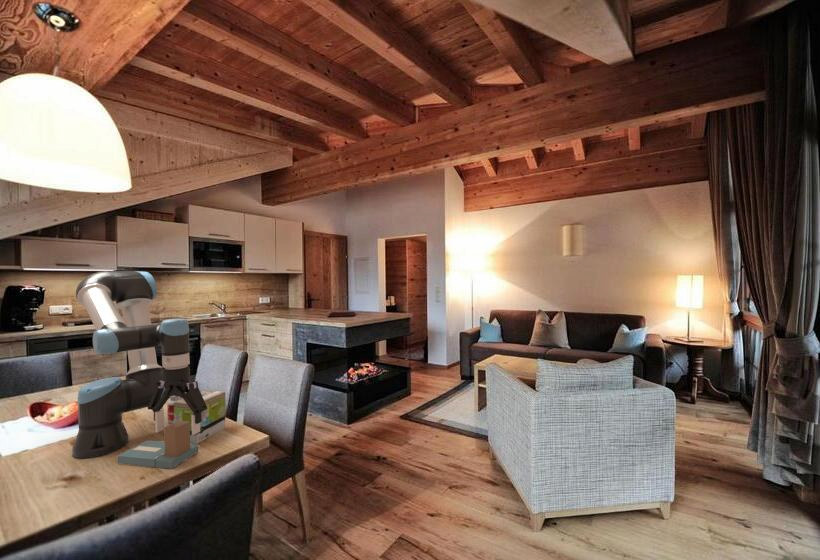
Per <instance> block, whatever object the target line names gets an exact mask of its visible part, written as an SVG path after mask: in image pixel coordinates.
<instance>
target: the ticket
mask: <svg viewBox="0 0 820 560" xmlns="http://www.w3.org/2000/svg"><path fill="white" fill-rule="evenodd" d="M164 454H165V441H158V440H149V439H148V440H145V441H143V442H142V443H140V444H138V445H136V446H134V447H132V448H130V449H128V450H126V451H125V452H122V453H120V454H118V455H117V459H116V460H117V461H116V462H117V464H119V465H120V464H121V465H126V466H127V465H129V466H138V467H145V468H146V467H147V468H157V467H156V465H155V460H156V459H157V458H159V457H161V456H163V455H164Z"/></svg>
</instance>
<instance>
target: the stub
mask: <svg viewBox="0 0 820 560" xmlns="http://www.w3.org/2000/svg"><path fill="white" fill-rule="evenodd" d="M163 431H164V435H163V436H164V442H165V454H164V455H163V456H161V457H159V458H157V459H156V460H155V465H156V467H155V468H160V469H161V468H162V469H170V470H171V469H174V468H176V467H177V466H179V465H180V464H182V463H183V462H184V461H186V460H188V459H190V458H191V457H193V456H194V455H196V454H197V453H199V450H200V449H199V448H200V447H199V444H196V445H195V444H190V421H178V422H176V423H171V424H170V425H168V426H166V427H165V426H164V430H163Z"/></svg>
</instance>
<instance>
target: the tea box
mask: <svg viewBox="0 0 820 560" xmlns="http://www.w3.org/2000/svg"><path fill="white" fill-rule="evenodd" d="M200 393H201V395H202V397H203V399H204V401H205V404H206V406H207V410H205V411H203V412H202V413H201V414H202V417H201V418H202V421H201V422H200V432H198V433H197V434H195V435H192V419H191V414H193V411H192V410H191V409H190V407H189V406H188V405H187V403H186V402H185V401H184V399H182V400H179V401H177V402H174V423H176V422H178V421H190V444H193V445H199V444H200V443H201V442H203V441H205V440H206V439H208V438H210V437H211V436H213V435H215V434H217V433H219V432H220V431H222V430H224V429H225V428H226V391H222V390H221V391H218V390H217V391H216V390H208V389H207V390H202V391H200ZM174 423H173V424H174Z"/></svg>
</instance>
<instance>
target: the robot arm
mask: <svg viewBox="0 0 820 560" xmlns="http://www.w3.org/2000/svg"><path fill="white" fill-rule="evenodd" d="M157 293H158V292H157V283H156V280H155V278H154V276H153V275H152V274H151V273H150V272H148V271H139V270H133V271H125V270H124V271H120V270H119V271H117V270H116V271H115V270H114V271H113V270H112V271H107V270H105V271H103V270H102V271H98V272H94V273H91V274H89V275H87V276H86V277H85V278H83V279H82V280H81V281H80V282H79V283H78V285H77V287H76V289H75V297H76V300H77V302H78V303H79V304H80V305H81V306H83V307H84V308H85V309H86V312H87V313H88V316H89V318H90V320H91V322H92V324H93V326H94V328H95V331H94V332H93V335H92V346H93V351H94V352H95V353H96V354H98V355H102V354H103V355H104V354H105V355H106V354H115V353H121V352H127V357H128V366H129V369H128V371H127V373H126V374H125V379H122V378H121V377H120V376H112V377H105V378H101V379H97V380H94V381H91V382H88V383H86V384H85V385H83V386H81V387H80V389H79V390H78V392H77V393H78V395H77V405H78V406H77V409H78V410H77V411H78V431H77V434H76V436H75V440H74V443H73V445H72V448H71V449H72V452H71V453H72V457H74V458H76V459H87V458H89V459H90V458H95V457H101V456H104V455H108V454H111V453H113V452H117V451H119V450H121V449H123V448H124V447H126V446H127V445H129V442H130V441H129V440H130V435H129V433H128V432H127V431H128V430H127V429H126V427H125V425H124V423H123V414H125V413H128V412H133V411H136V410H142V409H145V408H147V410H152V412H153V421H154V422H155V423H154V425H155V433H159V432H161V431H164V428H165V409H164V406H165V404H167V403H168V401H169V400H170V396H180V397H181V398H183V399H184V401H185V402H186V403H187V405H188V406H189V407H190V409H191V410H192V411H193V414H191V419H192V435H195V434H197V433H198V432H200V422H201V421H202V418H201V417H202V414H201V413H202V412H203V411H205V410H207V406H206V404H205V401H204V399H203V397H202V395H201V393H200V392H201V390H200V388H199V383H198V381H196V380H194V381H192V382H190V380H189V378H190V376H191V370H190V369H191V368H190V366H189V365H190V364H191V362H190V327H189V326H190V325H189V321H188V319H186V318H171V319H164V320H162V322H156V323H154V324H152V320H151V319H152V318H151V314H150V306H151V305H152V303H153V300H154V299H156V297H157ZM114 302H115V303H114ZM118 309H120V310H121V313H122V315H121V313H120V311H119V310H118ZM157 347H161V357H162V358H161V363H162V366H161V365H159V364H158V362H157V361H158V360H157V354H156V353H157V352H156V348H157Z"/></svg>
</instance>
